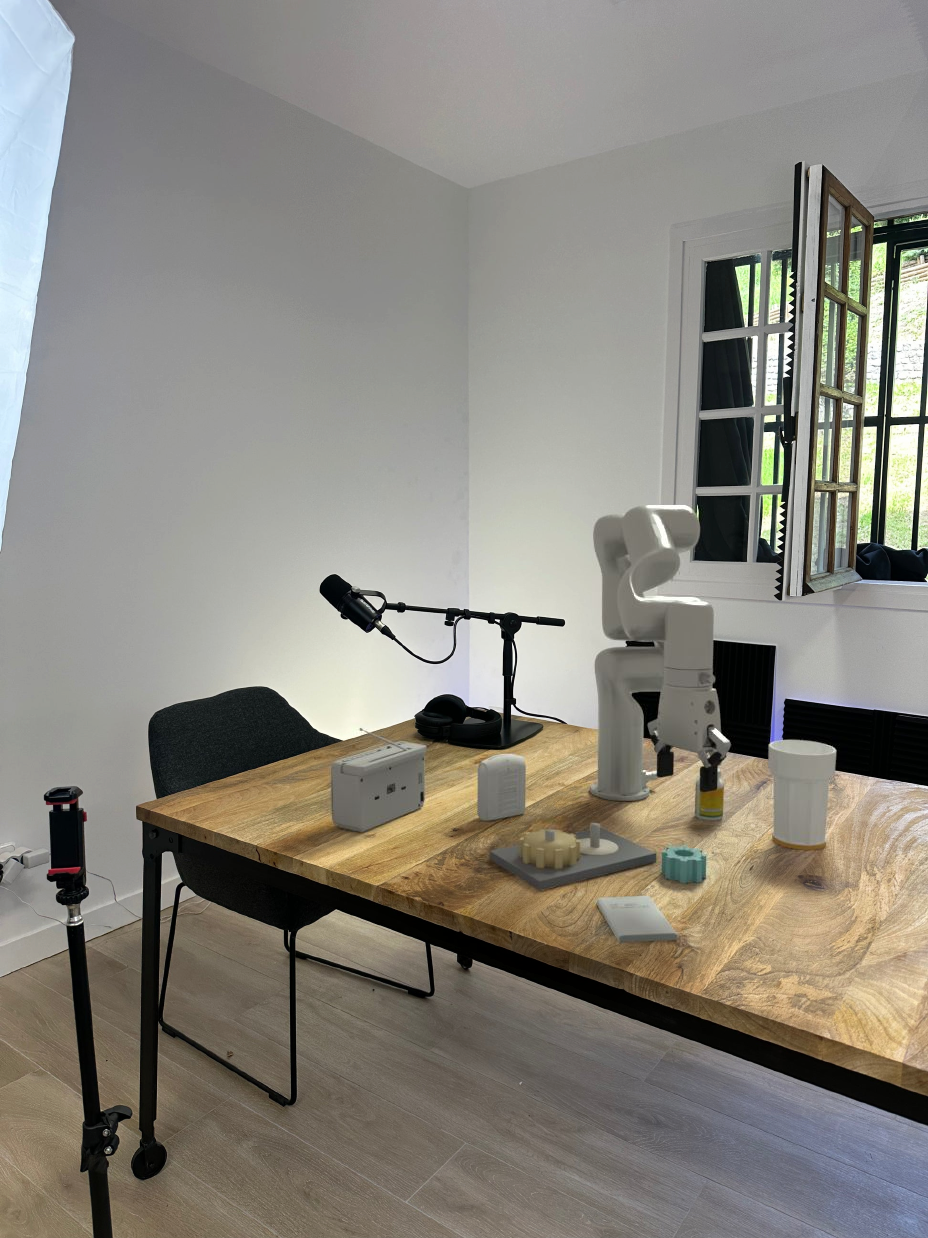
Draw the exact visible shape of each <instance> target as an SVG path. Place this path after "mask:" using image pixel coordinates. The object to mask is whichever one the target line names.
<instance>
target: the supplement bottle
mask: <svg viewBox="0 0 928 1238" xmlns="http://www.w3.org/2000/svg"><path fill="white" fill-rule="evenodd" d="M698 774H699V775H700V772H699V773H698ZM721 776H722V770H721V769H720V768H719V767H718V778H717V789H716V790H714V791H709V792H701V791H700V777H698V778H697V779H696V781H695V793H694V796H695V797H694V815H695V817H696V818H698V819H700V820H702V821H703V820H704V821H708V822H710V821H712V822H714V821H719V820H721V819H723V817H724V797H725V796H724V795H725V790H724V789H725V784H724V781H723V780H722V779H720V778H721Z"/></svg>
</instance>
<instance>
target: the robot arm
mask: <svg viewBox="0 0 928 1238" xmlns="http://www.w3.org/2000/svg"><path fill="white" fill-rule="evenodd" d="M592 532H593V533H592V536H593V537H592V539H593V549H594V552H595V555H596V559H597V561H598V564H599V567H600V571H601V572H600V573H601V580H602V581H601V585H602V586H601V623H602V625H601V626H602V631H603V634H604V636H606V637H607V638H608V639H610V640H613V641H622V642H623V641H624V642H625V641H627V642H628V641H629V642H632V641H635V642H639V643H640V642H641V643H642V642H643V643H646V642H647V643H649V642H650V643H651V642H652V643H654V646H616V647H615V646H614V647H608V648H606V649H602V650H601V651H599V653H598V654H597V655H596V657H595V660H594V675H595V683H596V688H597V689H596V690H597V705H598V706H597V709H598V712H597V713H598V714H597V717H598V719H597V721H598V722H597V723H598V725H597V730H598V731H597V781H595V782H593V783H592V784H591V785H590V786H589V788H590V789H589V790H590V793H591V794H592V795H594V796H595V797H598V798H600V799H603V800H609V801H619V802H630V801H631V802H632V801H639V800H643V799H646V798H648V797H649V796H650V791H651V789H650V788H649V786H648V785H647V784H648V783H649V782H650V781H652V782H653V781H657V780H659V779H661V778H667V777H671V776H673V775H674V774H675V773H674V768H675V765H674V764H675V761H674V760H675V757H674V756H675V753H674V751H672V749H673V748H676V749H677V748H678V749H680V750H683V751H687V752H691V753H696V754H697V756H698V757H699V759H700V761H701V763H702V765H703V766H700V768H699V773H700V774H699V778H700V791H701V792H709V791H714V790H716V789H717V778H718V768H719V767H720V766H722V762H723V761H724V760H726V759H727V756H728V755H727V754H728V753H729V751H730V748H731V746H732V744H731V742H730V740H729V739H728V738H726V736H724V735H723V734H722V729H721V728H722V727H721V713H720V712H721V711H720V704H719V702H720V701H719V697H718V696H719V695H718V693H717V689H716V688H713V684H715V682H716V676H715V675H714V674H713V672H714V667H713V665H714V664H713V663H714V661H713V660H714V623H715V622H714V621H715V620H714V619H715V614H714V613H715V612H714V607H713V605H712V604H710V603H709V602H706V601H703V600H701V598H697V597H694V596H664V595H645V594H644V593H645V592H647V591H650V590H652V589H654V588H656V587H659V586H661V585H664V584H665V583H667V582H669V581H670V580H671V579H673V578H674V577H675V576H676V575H677V573H678V572H679V571H680V567H681V557H680V555H679V554H681V553H686V552H688V551H690V550H692V549H694V547H695V546H697V544H698V543H699V539H700V536H701V534H700V533H701V525H700V521H699V518H698V515H697V513H696V512H695V511H694V509H692V508H691V507H689V506H687V505H683V504H682V505H681V504H679V505H678V504H674V505H673V504H670V505H669V504H665V505H664V504H663V505H662V504H658V505H656V504H654V505H653V504H651V505H648V504H646V505H639V506H635V507H632V508H630V509H629V510H627V512H625V513H612V514H607V515H604V516H602V517H599V518H598V519H597V520H596V522H595V523H594V527H593V531H592ZM639 692H641V693H642V692H660V696H659V703H658V708H657V709H658V712H657V718H656V719H654V720H652V721H650V722H648V723H647V728H648V731H649V732H648V733H649V735H650V741H651V743H652V744H653V746H654V748H653V751H654V752H655V753H656V770H653V771H649V772H647V770H643V769H644V767H643V766H644V764H643V763H644V713H643V709H642V707H641V706H640V704H639V703H638V702H637V700H636V699H634V697H633V696H632V694H633V693H639Z"/></svg>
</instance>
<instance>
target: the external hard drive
mask: <svg viewBox="0 0 928 1238" xmlns="http://www.w3.org/2000/svg"><path fill="white" fill-rule="evenodd" d="M596 905H597V907H598V908H599V910H600V912H601V914H602V915H603V918H604V919H605V921H606V923H607V924H608V926H609V927H610V929H611V931H612V933H613V934H614V936H615V938H616V940H617V941H618V943H636V942H637V943H639V942H657V941H658V942H659V941H678V933H677V931H676V930H675V929H674V927H673V926H672V925H671V924H670V922H669V921H668V920H667V918H666V917H665V916H664V914H663V913H662V911H661V910H660V908H659V907H658V906H657V905H656V904H655V902H654V901H653V899H652V898H651V897H650V896H649V895H637V896H635V895H633V896H613V897H612V896H611V897H610V896H608V897H599V898H597V899H596Z"/></svg>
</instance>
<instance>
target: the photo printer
mask: <svg viewBox="0 0 928 1238" xmlns="http://www.w3.org/2000/svg"><path fill="white" fill-rule="evenodd" d="M526 765H527V764H526V761H525V758H524V757H523V756H521V755H518V754H514V753H501V754H495V755H493V756H489V757H486V759H483V760H482V761H481V762H479V764H478V767H477V801H476V803H477V816H478V819H479V820H481V821H484V822H488V821H495V820H499V819H504V818H508V817H515V816H519V815H523V814H525V812H526V786H527V785H526V782H527V781H526V777H527V776H526V773H527V771H526V770H527V769H526V768H527V766H526Z"/></svg>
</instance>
